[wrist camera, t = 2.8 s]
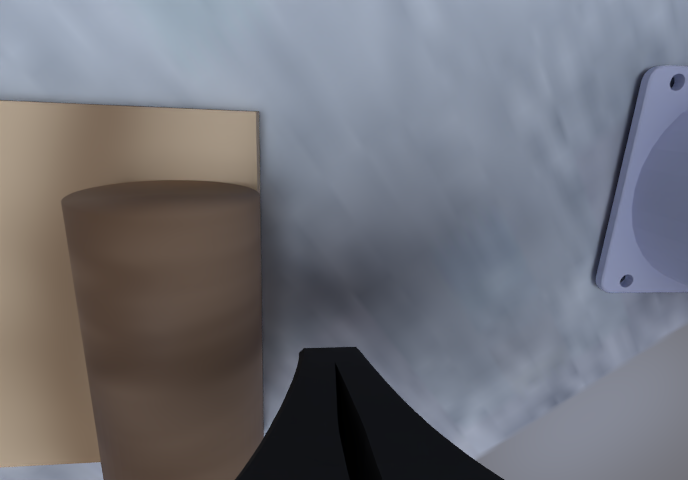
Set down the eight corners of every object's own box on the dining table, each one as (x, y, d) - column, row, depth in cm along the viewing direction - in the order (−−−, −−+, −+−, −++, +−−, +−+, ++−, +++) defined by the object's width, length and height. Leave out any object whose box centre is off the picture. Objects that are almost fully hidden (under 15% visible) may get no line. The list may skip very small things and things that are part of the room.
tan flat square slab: (259, 111, 13) (256, 111, 12) (263, 429, 17) (261, 453, 16) (-154, 93, 12) (-201, 92, 11) (-55, 444, 15) (-83, 471, 14)
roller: (18, 197, 10) (178, 175, 13) (70, 479, 12) (193, 394, 16) (151, 229, 8) (294, 193, 11) (181, 561, 10) (292, 441, 14)
